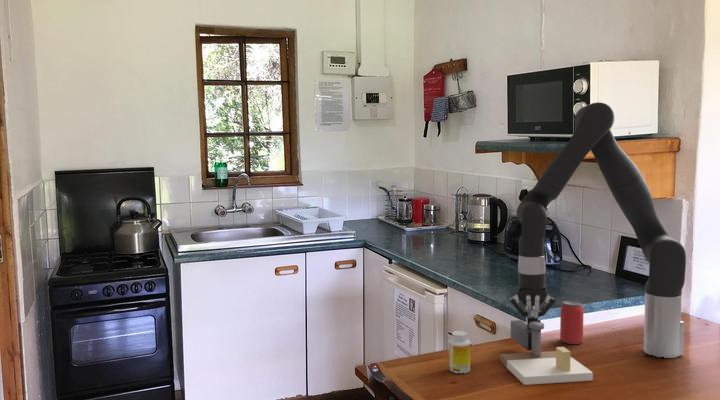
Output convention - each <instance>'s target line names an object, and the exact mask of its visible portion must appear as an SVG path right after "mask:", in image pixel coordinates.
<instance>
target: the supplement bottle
mask: <svg viewBox="0 0 720 400" xmlns="http://www.w3.org/2000/svg"><path fill="white" fill-rule="evenodd" d="M451 335H452V336H451V338H450V339H449V341H448V366H449V367H448V368H449V371H450V372H451V371H452V373H453V372H454V374H458V373H460V374H461V375H463V374H462V373H464V374H468V373H469V372H470V371H471V341H470V340H469V339H468V332H467V331H465V330H464V331H463V330H456V331H452V333H451ZM460 374H459V375H460Z"/></svg>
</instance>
